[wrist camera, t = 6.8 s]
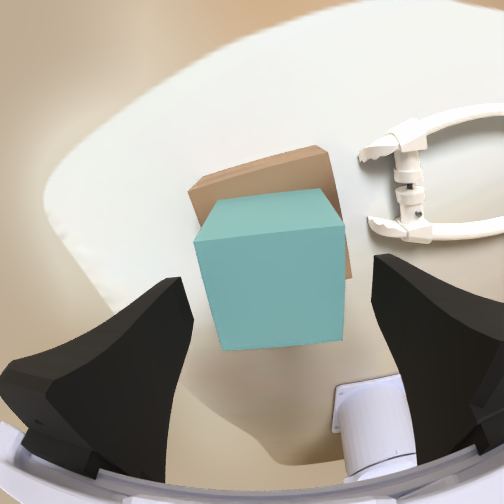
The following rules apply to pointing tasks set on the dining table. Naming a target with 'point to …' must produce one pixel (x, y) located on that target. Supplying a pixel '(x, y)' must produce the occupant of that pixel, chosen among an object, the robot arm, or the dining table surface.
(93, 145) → the dining table surface
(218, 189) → the walnut block
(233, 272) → the teal cube
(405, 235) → the white curved loop
